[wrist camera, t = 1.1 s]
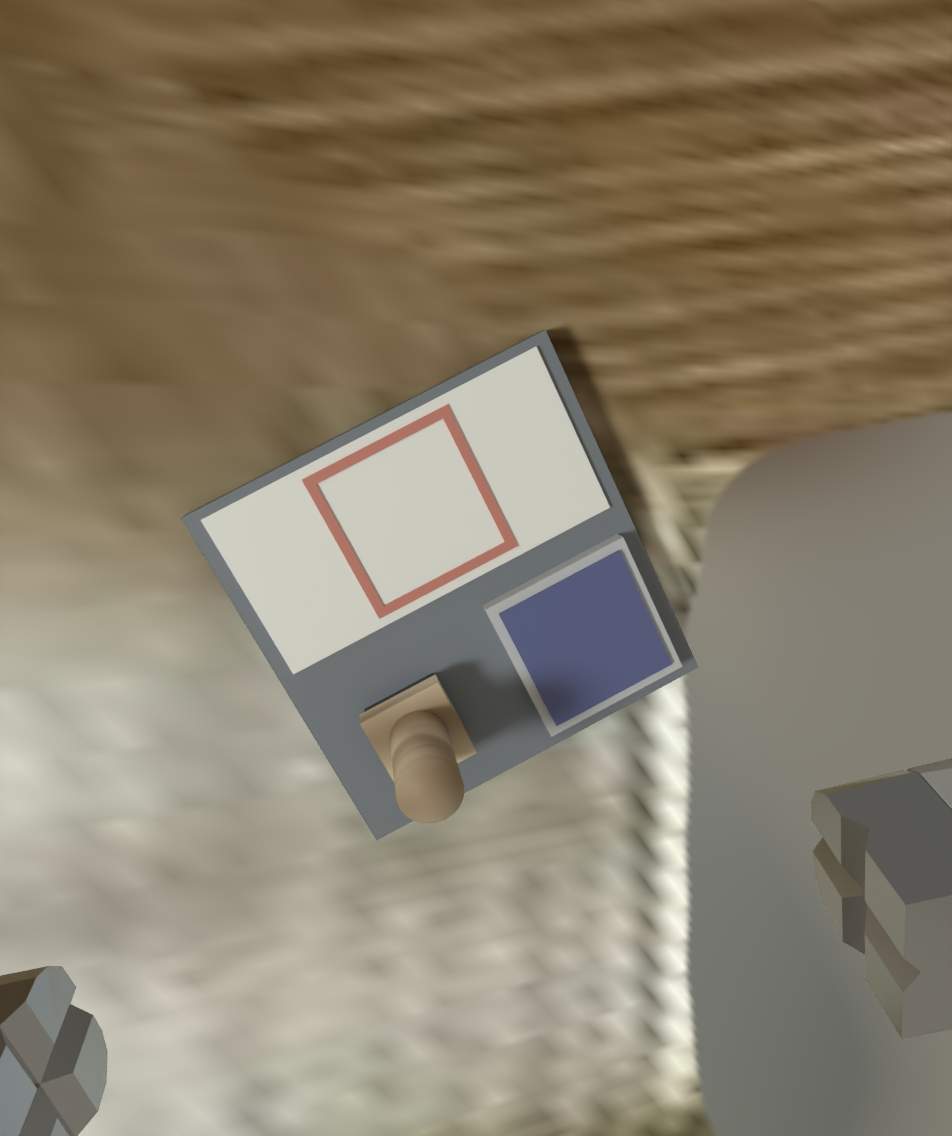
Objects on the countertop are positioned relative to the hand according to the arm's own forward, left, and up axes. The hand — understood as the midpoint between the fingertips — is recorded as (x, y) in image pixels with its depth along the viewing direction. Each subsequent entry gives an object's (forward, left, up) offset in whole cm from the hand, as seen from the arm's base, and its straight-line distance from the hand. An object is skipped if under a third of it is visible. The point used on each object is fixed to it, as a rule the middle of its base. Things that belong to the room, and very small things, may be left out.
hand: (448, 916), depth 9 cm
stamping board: (-6, -2, -35) cm, 36 cm away
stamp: (-11, +3, -34) cm, 36 cm away
